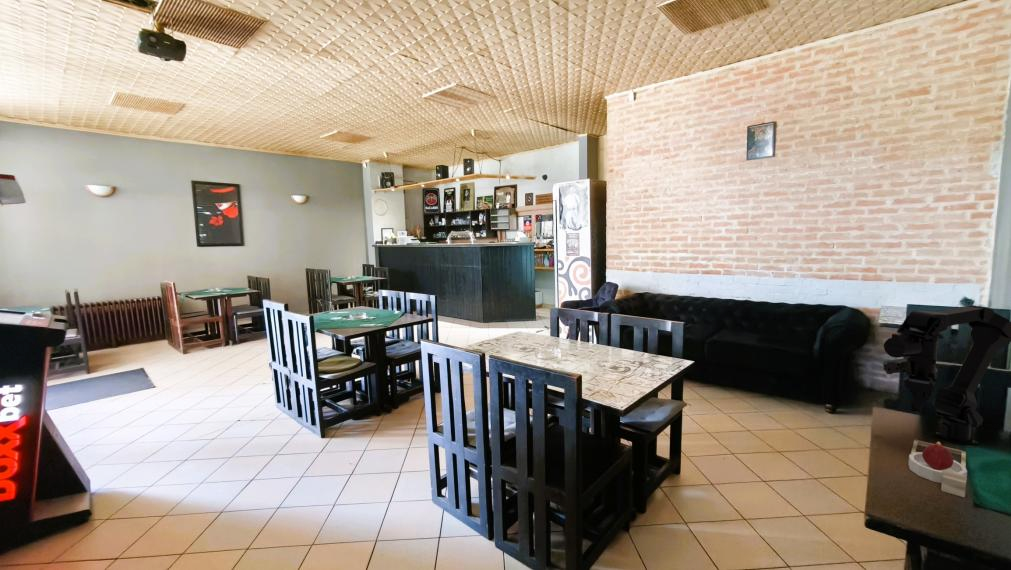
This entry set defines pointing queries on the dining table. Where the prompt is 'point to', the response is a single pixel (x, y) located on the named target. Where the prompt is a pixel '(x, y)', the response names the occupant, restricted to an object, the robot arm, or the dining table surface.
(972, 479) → the dining table surface
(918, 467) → the bowl
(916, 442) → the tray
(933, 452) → the onion
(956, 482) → the maple block
